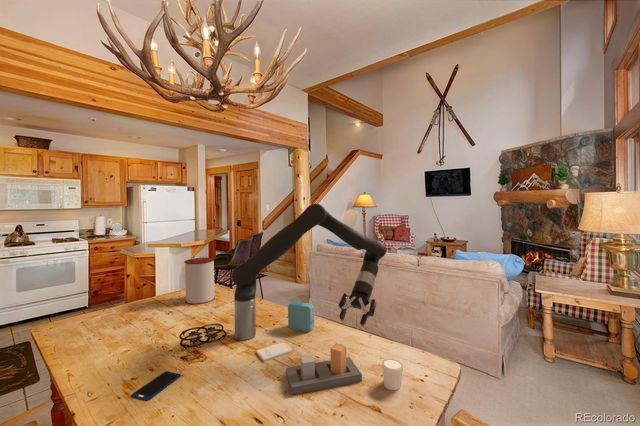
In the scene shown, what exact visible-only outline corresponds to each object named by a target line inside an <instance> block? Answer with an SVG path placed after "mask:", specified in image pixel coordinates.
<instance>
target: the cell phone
mask: <svg viewBox="0 0 640 426" xmlns="http://www.w3.org/2000/svg"><path fill="white" fill-rule="evenodd" d="M181 377H182V374H181V373H179V372H178V373H176V372H172V371H166V370H165V371H163V372H162V373H161V374H159V375H158V376H156V377H155V378H153V379H152V380H149V382H148V383H146V384H144V385H143V386H142V387H140V388H138V389H137V390H136V391H134V392H133V393H131V395H130V397H131V398H132V399H135V400H141V401H143V402H149V401H151V400H152V399H153V398H155V397H156V396H157V395H158V394H159V393H161V392H163V391H164V390H165V389H166V388H168V387H169V386H170V385H171V384H173V383H175V381H177V380H178V379H179V378H181ZM167 386H168V387H167Z"/></svg>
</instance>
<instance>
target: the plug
mask: <svg viewBox="0 0 640 426" xmlns="http://www.w3.org/2000/svg"><path fill="white" fill-rule="evenodd" d="M346 358H347V346H345V345H344V344H343V345H342V344H340V343H337V342H336V343H334V344H333V346H331V347H330V360H331V370H330V373H331V374H332V375H338V374H343V373H347V372H346Z"/></svg>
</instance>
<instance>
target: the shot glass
mask: <svg viewBox="0 0 640 426" xmlns="http://www.w3.org/2000/svg"><path fill="white" fill-rule="evenodd" d="M381 366H382V367H381V368H382V378H383V386H384V387H385V389H388V390H391V391H398V390H401V388H402V383H403V372H404V364H403V363H402V362H401V361H400V360H398V359H394V358H386V359H383V360H382V361H381Z"/></svg>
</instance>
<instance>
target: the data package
mask: <svg viewBox="0 0 640 426" xmlns="http://www.w3.org/2000/svg"><path fill="white" fill-rule="evenodd" d="M287 323H288V324H287V326H288V328H290V329H291V330H292V329H293V330H297V331H301V332H306V333H308V332H310V331H311V330H312V329H314V327H315V306H314V304H312V303H310V302H302V301H296V300H295V301H292V302H291V303H289V304H288V305H287Z"/></svg>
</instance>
